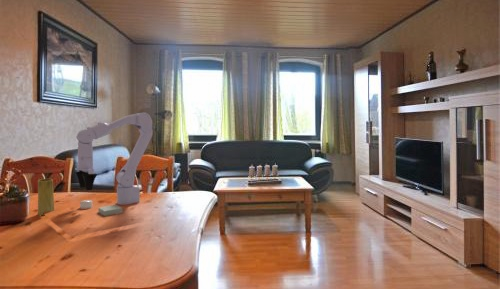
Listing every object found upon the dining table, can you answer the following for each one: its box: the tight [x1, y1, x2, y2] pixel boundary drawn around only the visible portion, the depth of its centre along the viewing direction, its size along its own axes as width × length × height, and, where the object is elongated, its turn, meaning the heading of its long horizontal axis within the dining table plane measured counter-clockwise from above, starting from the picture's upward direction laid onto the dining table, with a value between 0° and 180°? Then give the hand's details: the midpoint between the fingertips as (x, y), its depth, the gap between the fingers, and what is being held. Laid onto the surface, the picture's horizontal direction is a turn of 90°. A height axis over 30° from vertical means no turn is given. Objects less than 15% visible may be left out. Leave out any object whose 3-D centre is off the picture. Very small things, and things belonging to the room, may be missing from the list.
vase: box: [36, 178, 55, 217], centre depth 131 cm, size 6×6×14 cm
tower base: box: [96, 211, 116, 218], centre depth 129 cm, size 8×8×2 cm
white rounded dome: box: [79, 199, 93, 210], centre depth 138 cm, size 5×5×4 cm
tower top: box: [98, 204, 123, 217], centre depth 129 cm, size 7×7×2 cm
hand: (86, 188), depth 137 cm, fingers open, 7 cm apart
